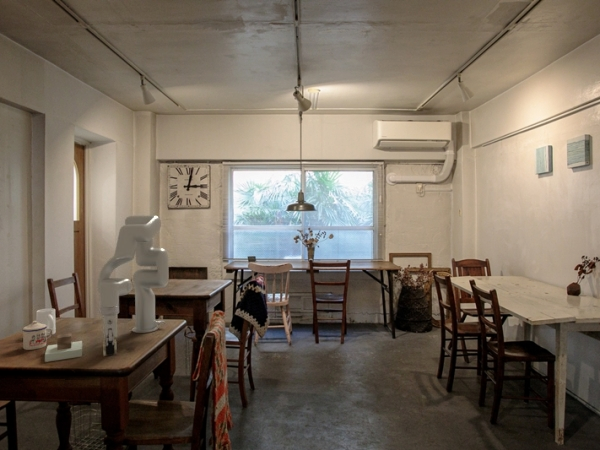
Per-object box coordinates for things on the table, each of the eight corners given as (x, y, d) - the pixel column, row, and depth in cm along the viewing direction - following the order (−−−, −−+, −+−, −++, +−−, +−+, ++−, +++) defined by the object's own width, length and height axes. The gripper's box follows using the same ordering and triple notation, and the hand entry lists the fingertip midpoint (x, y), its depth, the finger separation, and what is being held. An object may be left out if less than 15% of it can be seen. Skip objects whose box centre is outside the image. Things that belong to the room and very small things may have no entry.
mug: (43, 338, 187) (42, 314, 187) (33, 334, 194) (33, 310, 194) (61, 334, 193) (61, 310, 193) (51, 330, 200) (51, 307, 200)
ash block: (116, 350, 169) (115, 339, 169) (116, 353, 165) (116, 342, 165) (103, 352, 167) (103, 340, 167) (103, 355, 162) (103, 344, 162)
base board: (82, 347, 173) (82, 340, 173) (81, 356, 162) (81, 349, 162) (47, 352, 167) (47, 345, 167) (44, 361, 156) (44, 354, 156)
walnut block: (71, 344, 168) (71, 333, 168) (71, 348, 164) (71, 336, 164) (58, 346, 166) (57, 334, 166) (57, 350, 161) (57, 338, 161)
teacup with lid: (29, 351, 168) (28, 325, 168) (18, 348, 173) (18, 322, 173) (57, 343, 179) (57, 318, 179) (47, 340, 183) (46, 316, 183)
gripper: (120, 313, 160) (120, 357, 160) (117, 305, 175) (118, 345, 175) (100, 315, 156) (100, 360, 157) (99, 307, 171) (99, 348, 171)
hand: (109, 352), depth 166 cm, fingers closed on ash block, 5 cm apart
